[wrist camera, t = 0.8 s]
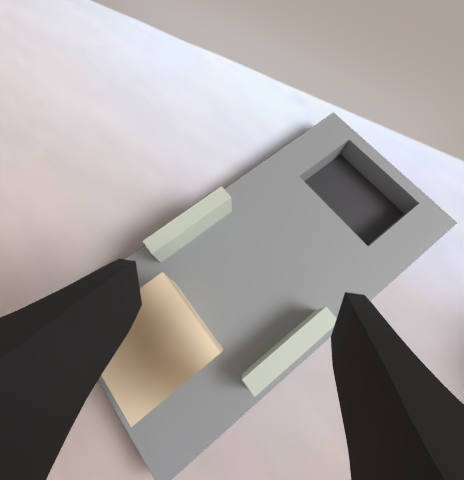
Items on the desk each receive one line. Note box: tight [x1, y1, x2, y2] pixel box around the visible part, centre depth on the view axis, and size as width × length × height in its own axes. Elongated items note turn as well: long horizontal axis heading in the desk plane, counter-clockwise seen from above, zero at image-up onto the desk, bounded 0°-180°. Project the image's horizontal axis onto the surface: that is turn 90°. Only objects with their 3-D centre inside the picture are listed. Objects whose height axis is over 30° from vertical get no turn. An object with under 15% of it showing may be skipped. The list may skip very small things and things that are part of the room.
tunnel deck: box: [98, 112, 457, 480], centre depth 22 cm, size 28×14×5 cm, turn 128°
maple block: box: [101, 272, 223, 427], centre depth 18 cm, size 6×6×4 cm
